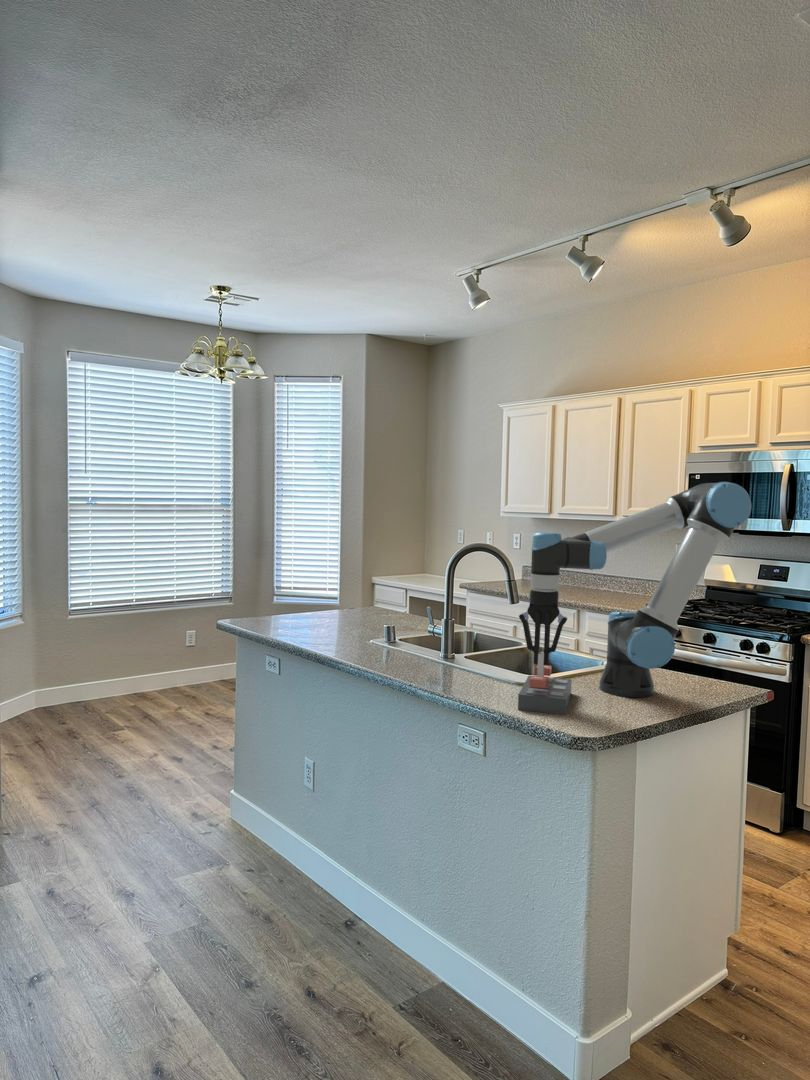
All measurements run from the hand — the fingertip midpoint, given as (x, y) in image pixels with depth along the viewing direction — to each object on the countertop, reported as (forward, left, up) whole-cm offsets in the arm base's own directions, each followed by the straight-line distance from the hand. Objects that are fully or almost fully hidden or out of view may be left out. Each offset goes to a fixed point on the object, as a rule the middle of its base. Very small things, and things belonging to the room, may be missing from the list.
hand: (540, 676), depth 201 cm
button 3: (0, +7, -1) cm, 7 cm away
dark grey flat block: (-2, -2, -7) cm, 7 cm away
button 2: (0, 0, -2) cm, 2 cm away
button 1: (0, -7, -1) cm, 7 cm away
